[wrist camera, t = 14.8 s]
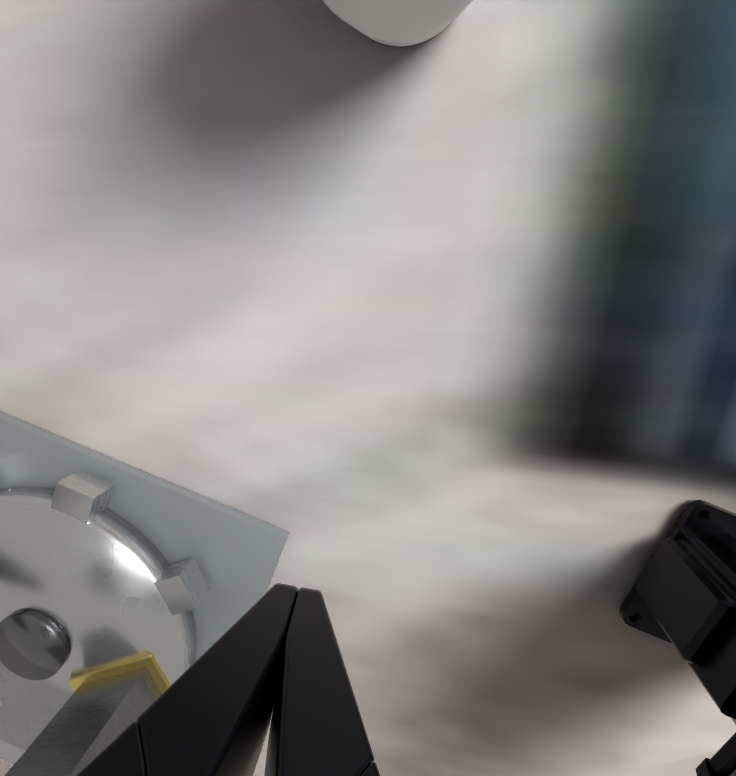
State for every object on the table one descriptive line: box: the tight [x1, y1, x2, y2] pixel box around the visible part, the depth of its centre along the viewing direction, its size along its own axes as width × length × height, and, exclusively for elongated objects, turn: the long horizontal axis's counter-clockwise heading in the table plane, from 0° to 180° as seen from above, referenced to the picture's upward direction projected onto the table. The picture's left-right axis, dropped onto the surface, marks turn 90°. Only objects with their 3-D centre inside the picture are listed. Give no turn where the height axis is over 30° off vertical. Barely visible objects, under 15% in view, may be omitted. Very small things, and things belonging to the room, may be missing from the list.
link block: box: [5, 667, 162, 776], centre depth 21 cm, size 4×4×5 cm
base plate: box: [0, 411, 289, 661], centre depth 25 cm, size 19×19×1 cm
